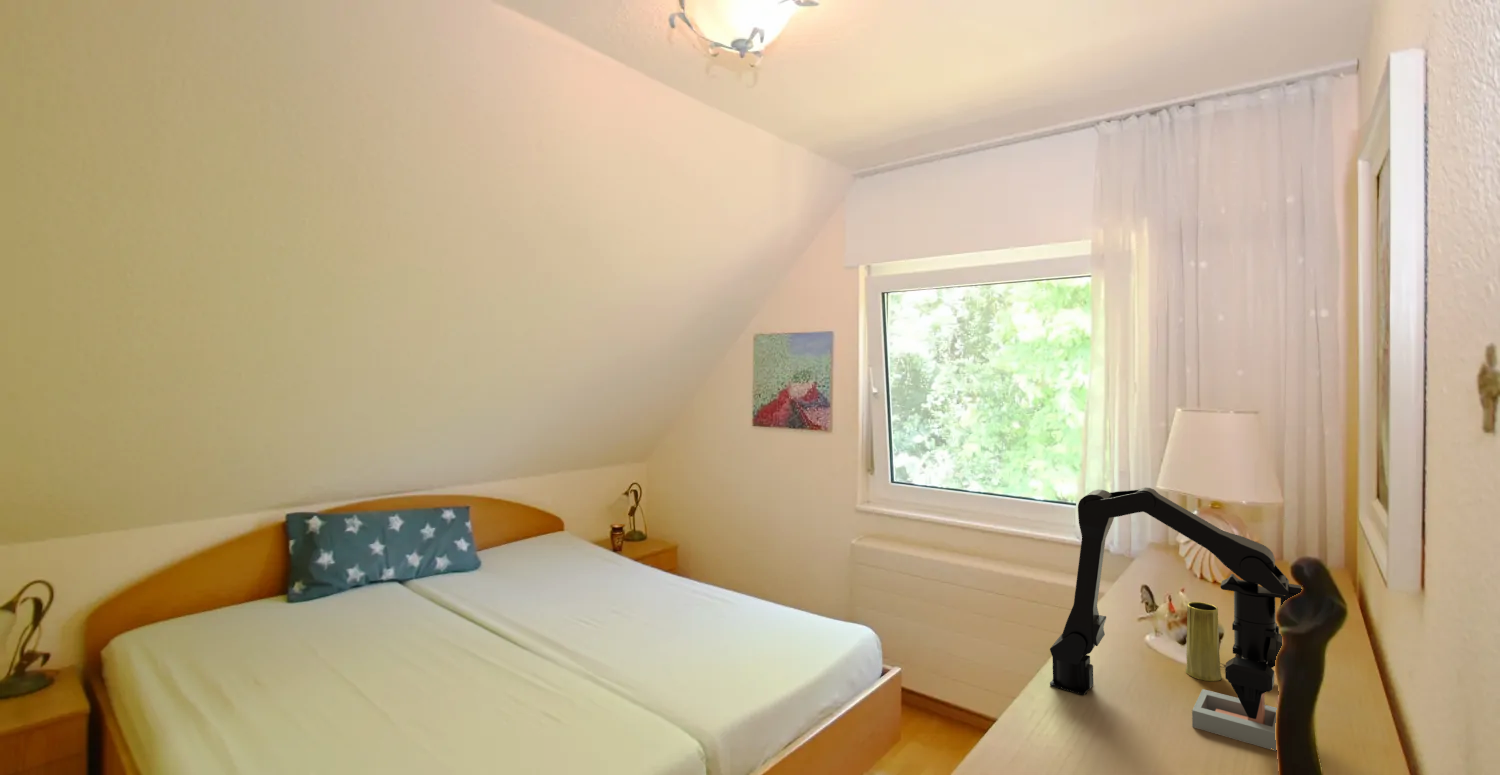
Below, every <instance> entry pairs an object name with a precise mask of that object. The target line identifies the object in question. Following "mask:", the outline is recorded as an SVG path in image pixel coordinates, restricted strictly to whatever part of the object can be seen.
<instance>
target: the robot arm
mask: <svg viewBox="0 0 1500 775" xmlns="http://www.w3.org/2000/svg"><path fill="white" fill-rule="evenodd" d="M1137 513H1145V514H1147V515H1149V516H1151V517H1152V518H1154V519H1156V520H1157V521H1159V522H1161V523H1162V524H1164V525H1166V526H1167V527H1169V528H1171V529H1172V530H1175V532H1178V533H1179V534H1181V535H1182V536H1184V537H1186V538H1187V539H1189V540H1190V541H1192V542H1194V543H1196V544H1198V545H1199V546H1201V547H1202V548H1205V549H1206V550H1207V551H1209V552H1210V553H1211V554H1213V555H1214V556H1215V558H1216V559H1218V560H1219V561H1220V562H1221V564H1223V565H1224V566H1225V567H1226V569H1229V570H1230V571H1231V572H1232V573H1231V574H1230V575H1229V576H1228V577H1226V578H1225V579H1223V580H1222V581H1221V584H1220V589H1221V590H1224V591H1228V592H1229V591H1230V592H1233V622H1232V626H1231V627H1232V631H1233V632H1234V634H1233V637H1234V641H1233V642H1234V644H1233V646H1232V654H1234V655H1236V654H1238V655H1239V658H1237V657H1235V656H1234V657H1232V658H1231V659H1228V661H1227V662H1228V663H1227V665H1226V667H1225V668H1224V669H1225V679H1226V680H1227V682H1228V683H1230V685H1231V687H1232V689H1233V690H1234V693H1235V694H1236V697H1237V698H1239V700H1240V702H1241V704H1242V706H1243V708H1244V710H1245V712H1246V714H1247V716H1248V717H1249V718H1253V719H1256V718H1257V714H1258V709H1259V705H1260V701H1261V697H1262V694H1263V693H1269V692H1272V690H1273V689H1274V686H1275V670H1274V669H1273V668H1274V667H1275V660H1276V656H1277V654H1278V652H1279V650H1280V648H1281V646H1282V636H1281V634H1282V633H1280V626H1279V625H1278V623H1276V622H1277V621H1276V618H1277V617H1276V616H1277V614H1276V613H1277V612H1276V611H1277V609H1276V598H1278V599H1280V606H1281V605H1282V604H1283V602H1284V601H1285V600H1287V599H1288V598H1290V597H1292V596H1294V595H1296V594H1298V593H1300V592H1301V590H1302V589H1301V586H1300V585H1301V584H1295V583H1290V581H1289V579H1288V577H1287V575H1285V574H1284V572H1282V570H1281V569H1280V568H1279V567H1278V566H1277V565H1276V558H1275V555H1274V553H1273V551H1272V550H1271V549H1270V548H1269V547H1267V545H1265V544H1262V543H1260V542H1257V541H1254V540H1252V539H1250V538H1247V537H1245V536H1241V535H1239V534H1235V533H1232V532H1229V531H1226V530H1224V529H1221V528H1220V527H1218V526H1215V525H1214V524H1212V523H1210V522H1209V521H1207V520H1205V519H1203V518H1202V517H1200V516H1198V515H1196V514H1195V513H1193V512H1191V511H1189V510H1188V509H1185V507H1183V506H1181V505H1179V504H1177V503H1175V502H1174V501H1172V500H1170V499H1168V497H1167V498H1166V497H1165V496H1163V495H1161V494H1160V493H1159V492H1158V491H1156V490H1155V489H1153V488H1151V487H1142V488H1138V489H1129V490H1128V489H1127V490H1119V491H1112V492H1110V491H1107V490H1104V489H1094V490H1092V491H1090V492H1088V493H1087V494H1086V495H1084V496H1083V497H1082V498H1081V499H1080V500H1079V501H1078V505H1077V516H1078V519H1077V520H1078V526H1079V530H1080V534H1081V541H1080V542H1081V544H1080V550H1079V558H1078V566H1077V575H1076V576H1077V577H1076V582H1075V583H1076V584H1075V591H1074V597H1073V598H1074V600H1073V606H1072V608H1071V611H1070V613H1069V614H1068V617H1067V620H1066V621H1065V625H1064V628H1063V631H1062V633H1061V634H1060V635H1059V637H1058V638H1057V640H1056V641H1055V642H1054V643H1053V644H1052V646H1051V647H1050V648H1049V652H1050V654H1051V656H1052V680H1051V681H1050V682H1049V685H1050V686H1051V687H1053V688H1057V689H1060V690H1064V691H1067V692H1070V693H1071V692H1072V693H1074V694H1078V695H1082V696H1085V695H1086V694H1087V692H1088V691H1089V690H1090V689H1092V687H1093V686H1094V665H1093V664H1091V655H1089V654H1091V652H1093V650H1094V649H1095V647H1098V646H1099V644H1100V643H1101V641H1102V640H1103V639H1104V636H1105V630H1104V628H1105V627H1104V626H1105V623H1106V621H1107V616H1106V615H1100V613H1099V609H1098V600H1099V594H1100V585H1101V584H1100V583H1101V578H1102V570H1103V569H1102V567H1103V561H1104V560H1103V559H1104V554H1105V547H1106V546H1105V545H1106V540H1107V537H1108V534H1109V531H1110V530H1111V526H1112V524H1113V521H1114V518H1116V517H1117V518H1118V517H1123V516H1126V515H1132V514H1137ZM1239 578H1240V579H1239Z"/></svg>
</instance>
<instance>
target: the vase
mask: <svg viewBox="0 0 1500 775" xmlns="http://www.w3.org/2000/svg"><path fill="white" fill-rule="evenodd" d="M1186 607H1187V610H1186V613H1187V614H1186V616H1187V618H1186V667H1185V673H1186V674H1187V675H1189V677H1192V678H1194V679H1196V680H1199V681H1204V682H1218V681H1220V680H1221V679H1223V678H1222V672H1221V670H1222V669H1221V667H1220V666H1221V664H1220V663H1221V659H1220V658H1221V657H1220V639H1219V638H1220V636H1219V608H1218V607H1217V606H1216V605H1214V604H1212V603H1208V602H1203V601H1190V602H1188V603H1187V606H1186Z"/></svg>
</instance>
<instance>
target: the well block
mask: <svg viewBox="0 0 1500 775" xmlns="http://www.w3.org/2000/svg"><path fill="white" fill-rule="evenodd" d="M1277 708H1278V707H1274V706H1271V705H1267V704H1265V725H1264V724H1260V723H1257V722H1253V721H1249V720H1245V719H1242V718H1238V717H1234V716H1231V715H1227V714H1223V713H1219V712H1216V711H1215V710H1216V709H1220V710H1224V711H1228V712H1231V713H1235V714H1239V715H1243V716H1246V717H1248V716H1247V714H1246V712H1245V710H1244V708H1243V706H1242V704H1241V702H1240V700H1239V698H1238V697H1237V696H1236V697H1235V696H1232V695H1228V694H1223V693H1219V692H1215V691H1212V690H1209V689H1208V690H1207V689H1204V688H1202V689H1201V691H1200V693H1199V696H1198V697H1197V699H1196V702H1195V704H1194V705H1193V708H1192V710H1191V711H1192V712H1191V713H1192V715H1191V716H1192V717H1191V719H1192V720H1191V721H1192V726H1191V727H1192V728H1195V729H1198V730H1202V731H1206V732H1209V733H1212V734H1216V735H1219V736H1223V737H1226V738H1230V739H1233V740H1236V741H1240V742H1243V743H1246V744H1249V745H1254V746H1258V747H1260V748H1264V749H1267V750H1271V748H1272V749H1274V750H1273V751H1274V752H1277V751H1276V740H1275V723H1276V710H1277Z"/></svg>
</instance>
